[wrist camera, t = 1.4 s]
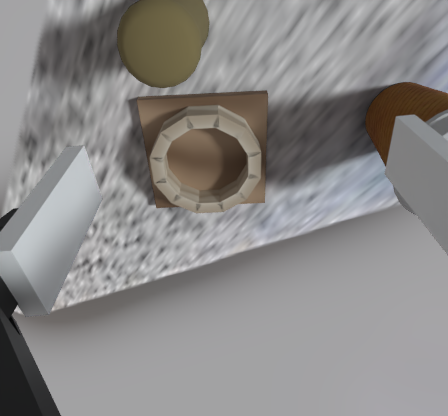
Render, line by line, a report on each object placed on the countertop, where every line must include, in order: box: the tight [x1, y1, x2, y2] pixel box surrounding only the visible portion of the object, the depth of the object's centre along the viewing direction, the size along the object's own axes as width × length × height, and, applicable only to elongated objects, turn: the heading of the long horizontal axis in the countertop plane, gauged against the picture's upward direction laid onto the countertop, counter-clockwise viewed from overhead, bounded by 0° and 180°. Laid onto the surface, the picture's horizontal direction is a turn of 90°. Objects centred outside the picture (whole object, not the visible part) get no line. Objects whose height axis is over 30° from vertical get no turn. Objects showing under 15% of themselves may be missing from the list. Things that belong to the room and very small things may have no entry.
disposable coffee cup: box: [365, 82, 448, 215], centre depth 30 cm, size 10×10×12 cm
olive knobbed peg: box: [117, 0, 209, 88], centre depth 25 cm, size 6×6×11 cm
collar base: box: [137, 91, 268, 213], centre depth 35 cm, size 12×12×4 cm
